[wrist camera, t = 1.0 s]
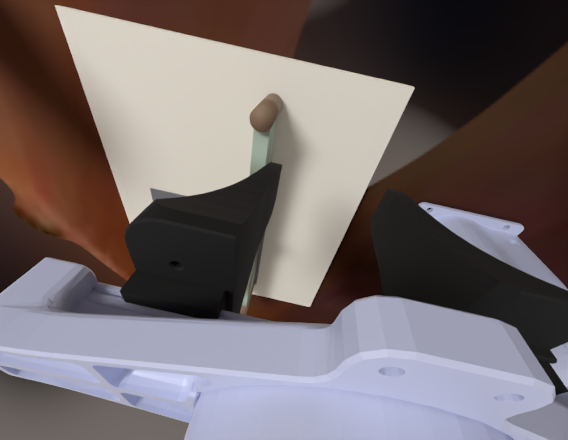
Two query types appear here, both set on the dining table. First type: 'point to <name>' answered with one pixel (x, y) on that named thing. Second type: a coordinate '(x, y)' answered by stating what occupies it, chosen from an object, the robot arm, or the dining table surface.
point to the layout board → (235, 133)
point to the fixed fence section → (249, 288)
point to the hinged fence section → (264, 130)
